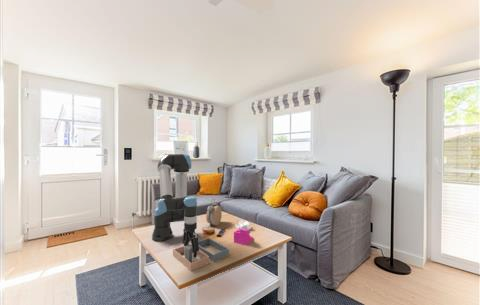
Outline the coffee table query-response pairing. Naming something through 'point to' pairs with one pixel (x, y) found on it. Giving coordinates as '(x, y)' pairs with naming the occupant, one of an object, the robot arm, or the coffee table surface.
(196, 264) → the trough
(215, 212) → the beige tall rounded piece
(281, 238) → the coffee table surface
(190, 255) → the stone block
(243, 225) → the lotus flower
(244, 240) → the bracket
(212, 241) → the trough
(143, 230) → the coffee table surface
